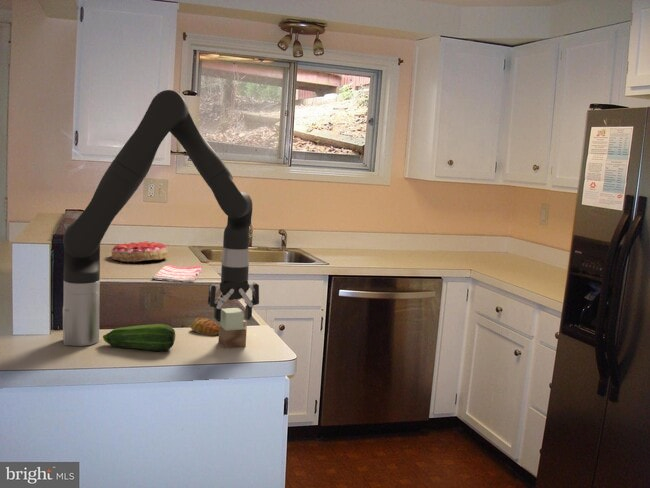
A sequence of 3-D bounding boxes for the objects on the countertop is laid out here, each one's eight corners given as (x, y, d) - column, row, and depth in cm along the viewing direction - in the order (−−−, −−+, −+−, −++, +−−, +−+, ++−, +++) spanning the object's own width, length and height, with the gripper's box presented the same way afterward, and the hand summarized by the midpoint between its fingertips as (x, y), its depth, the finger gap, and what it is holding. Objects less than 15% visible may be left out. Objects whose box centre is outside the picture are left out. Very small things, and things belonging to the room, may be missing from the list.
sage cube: (225, 330, 184) (226, 313, 183) (220, 325, 188) (221, 308, 187) (243, 329, 186) (243, 312, 185) (237, 324, 190) (238, 307, 189)
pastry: (227, 333, 199) (227, 320, 198) (211, 338, 193) (212, 325, 192) (203, 327, 204) (203, 315, 203) (187, 331, 198) (188, 319, 197)
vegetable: (172, 322, 176) (100, 317, 178) (168, 349, 173) (95, 343, 175) (180, 328, 183) (110, 323, 185) (176, 354, 180) (105, 348, 182)
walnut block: (225, 349, 183) (225, 331, 183) (218, 342, 189) (219, 325, 188) (245, 347, 186) (246, 329, 185) (238, 340, 191) (239, 324, 191)
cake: (169, 262, 298) (169, 244, 297) (111, 264, 291) (110, 246, 290) (166, 256, 321) (166, 239, 321) (112, 258, 314) (112, 241, 314)
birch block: (233, 337, 194) (233, 323, 193) (225, 334, 197) (225, 319, 197) (246, 335, 197) (246, 321, 196) (238, 332, 200) (238, 317, 200)
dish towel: (203, 272, 287) (203, 264, 286) (194, 283, 264) (194, 275, 263) (163, 270, 286) (163, 262, 286) (151, 281, 263) (151, 273, 263)
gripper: (214, 266, 178) (212, 325, 180) (264, 265, 184) (261, 322, 186) (206, 261, 184) (204, 318, 187) (254, 260, 190) (252, 315, 193)
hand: (233, 320), depth 186 cm, fingers open, 8 cm apart
